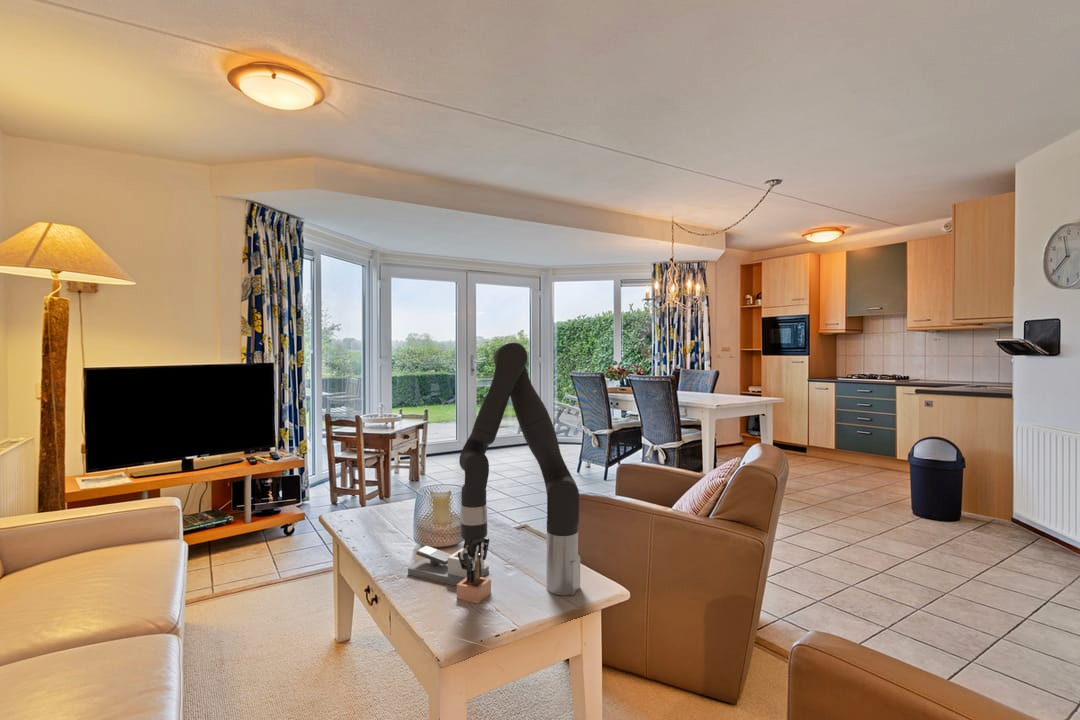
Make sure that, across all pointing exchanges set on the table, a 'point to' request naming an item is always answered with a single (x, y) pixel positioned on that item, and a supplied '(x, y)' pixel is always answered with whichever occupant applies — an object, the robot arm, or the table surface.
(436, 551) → the rocker switch
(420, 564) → the grey base slab
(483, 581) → the holder
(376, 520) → the table surface
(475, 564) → the brown rectangular block
